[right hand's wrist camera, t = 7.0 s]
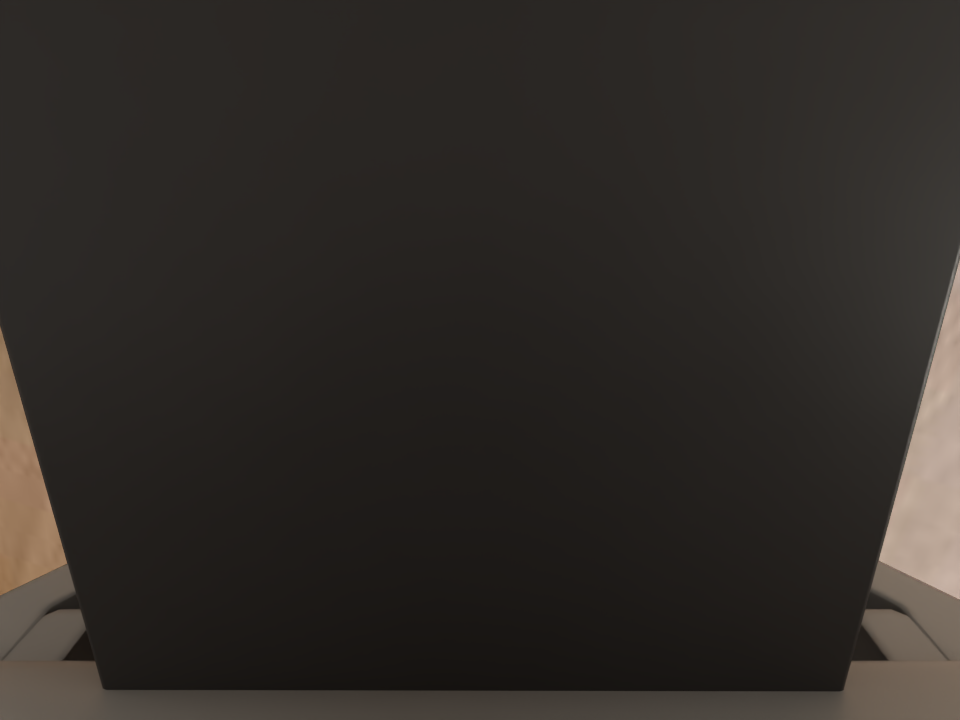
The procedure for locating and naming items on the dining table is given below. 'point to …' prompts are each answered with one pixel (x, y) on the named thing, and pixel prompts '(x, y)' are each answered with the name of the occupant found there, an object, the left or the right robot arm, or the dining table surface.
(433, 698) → the right robot arm
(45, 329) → the box
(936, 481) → the dining table surface
